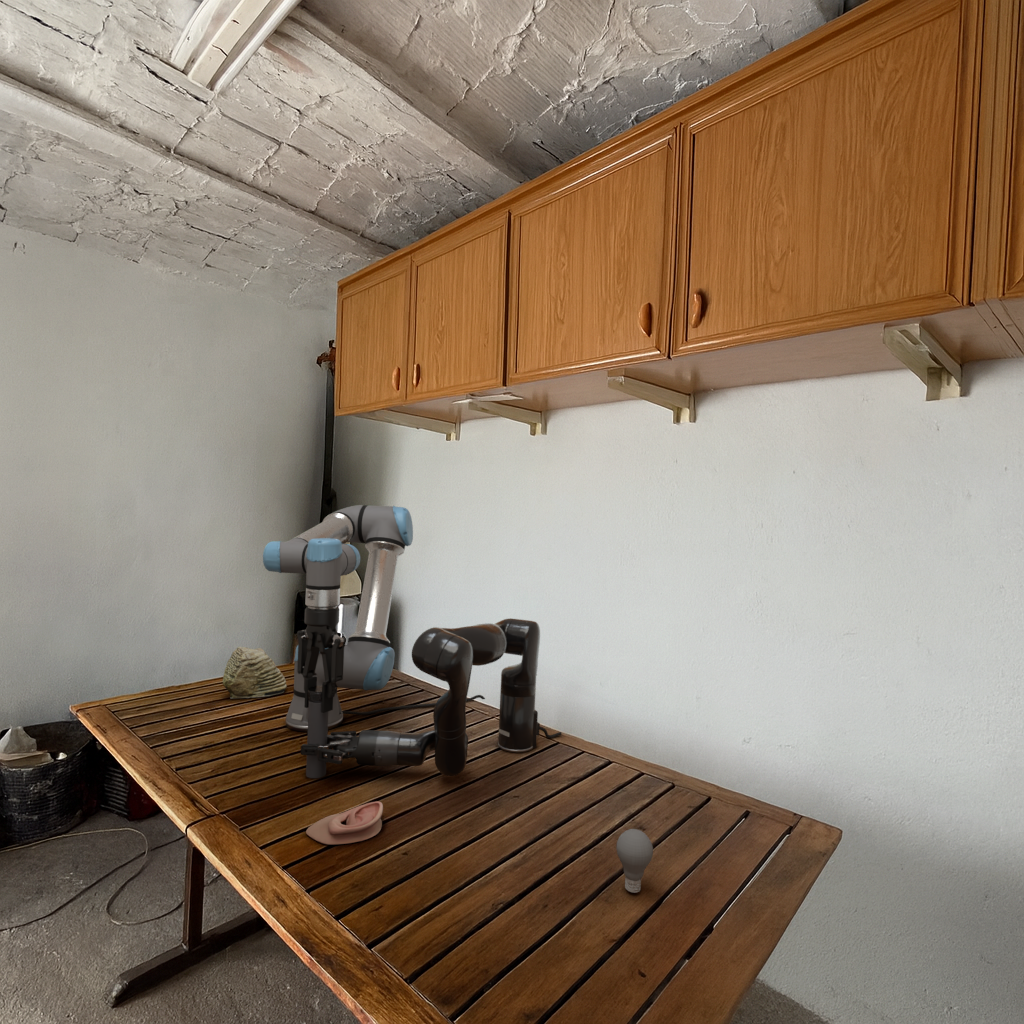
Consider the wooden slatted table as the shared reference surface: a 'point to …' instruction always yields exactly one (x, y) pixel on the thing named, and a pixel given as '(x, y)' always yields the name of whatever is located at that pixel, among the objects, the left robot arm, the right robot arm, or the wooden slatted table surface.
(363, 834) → the anatomical model
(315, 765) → the bottle
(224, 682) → the fossil
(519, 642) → the right robot arm
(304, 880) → the wooden slatted table surface
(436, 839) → the wooden slatted table surface
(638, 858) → the light bulb
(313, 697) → the lid
